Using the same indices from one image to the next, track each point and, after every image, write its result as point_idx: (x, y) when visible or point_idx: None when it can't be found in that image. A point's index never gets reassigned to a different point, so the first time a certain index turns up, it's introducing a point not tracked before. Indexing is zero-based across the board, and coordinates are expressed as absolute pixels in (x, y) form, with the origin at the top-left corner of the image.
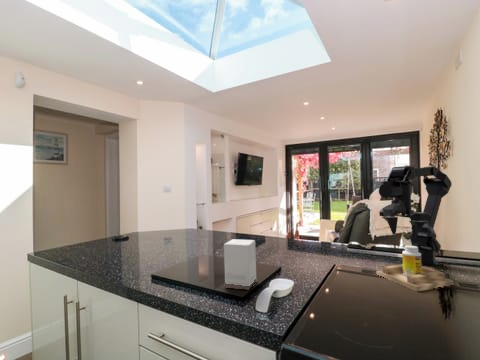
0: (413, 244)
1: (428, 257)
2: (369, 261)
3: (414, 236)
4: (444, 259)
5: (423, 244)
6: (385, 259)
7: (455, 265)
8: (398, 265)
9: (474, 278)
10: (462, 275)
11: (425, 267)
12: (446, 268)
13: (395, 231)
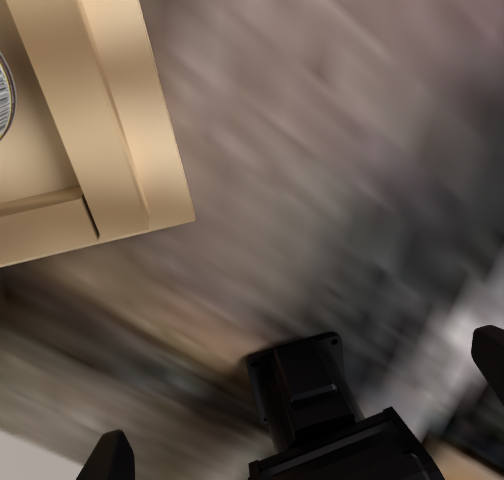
0: (395, 430)
1: (273, 408)
2: (456, 40)
3: (89, 469)
4: None
5: (297, 472)
6: (446, 203)
7: (246, 471)
8: (70, 51)
9: (37, 443)
10: (86, 422)
11: (16, 256)
12: (206, 417)
13: (499, 392)
